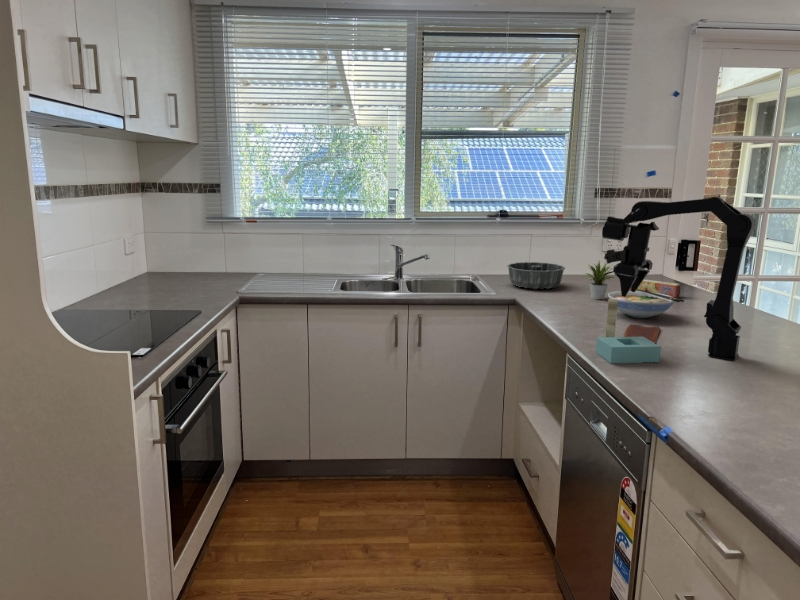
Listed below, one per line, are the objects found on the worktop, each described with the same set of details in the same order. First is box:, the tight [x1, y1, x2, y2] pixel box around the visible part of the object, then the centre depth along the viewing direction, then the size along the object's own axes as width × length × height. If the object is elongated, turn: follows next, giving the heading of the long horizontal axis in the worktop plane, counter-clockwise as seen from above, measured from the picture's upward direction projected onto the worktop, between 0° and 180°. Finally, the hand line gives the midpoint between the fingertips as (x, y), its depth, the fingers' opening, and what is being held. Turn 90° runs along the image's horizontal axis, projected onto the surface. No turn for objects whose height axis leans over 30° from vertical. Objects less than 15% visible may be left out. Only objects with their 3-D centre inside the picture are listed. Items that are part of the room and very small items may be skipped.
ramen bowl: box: [607, 289, 685, 319], centre depth 205 cm, size 25×23×8 cm
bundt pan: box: [507, 261, 566, 290], centre depth 264 cm, size 26×26×10 cm
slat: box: [605, 298, 618, 337], centre depth 166 cm, size 4×2×14 cm, turn 160°
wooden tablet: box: [623, 323, 661, 344], centre depth 179 cm, size 27×10×2 cm, turn 152°
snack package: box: [629, 278, 681, 299], centre depth 245 cm, size 21×7×7 cm, turn 49°
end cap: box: [595, 336, 662, 364], centre depth 156 cm, size 10×14×4 cm
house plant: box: [585, 260, 615, 300], centre depth 234 cm, size 14×14×16 cm
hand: (628, 294), depth 171 cm, fingers open, 9 cm apart
